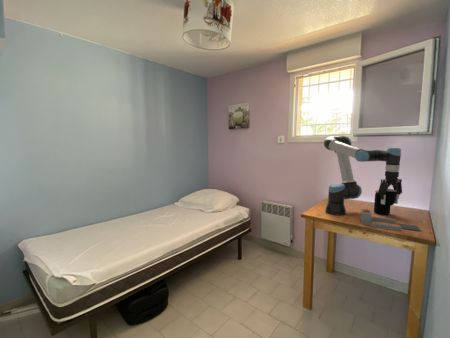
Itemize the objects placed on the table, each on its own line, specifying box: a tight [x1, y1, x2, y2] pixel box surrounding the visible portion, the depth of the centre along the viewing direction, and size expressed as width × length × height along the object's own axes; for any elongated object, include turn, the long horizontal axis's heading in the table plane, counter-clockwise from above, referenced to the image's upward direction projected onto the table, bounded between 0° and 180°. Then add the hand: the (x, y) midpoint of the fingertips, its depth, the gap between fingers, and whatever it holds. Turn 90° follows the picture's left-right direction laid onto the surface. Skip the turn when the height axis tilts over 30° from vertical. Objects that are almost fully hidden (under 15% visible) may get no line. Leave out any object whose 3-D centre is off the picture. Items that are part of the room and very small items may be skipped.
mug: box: [385, 188, 397, 206], centre depth 153 cm, size 12×9×10 cm
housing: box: [359, 208, 403, 232], centre depth 157 cm, size 22×16×8 cm
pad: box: [398, 222, 422, 232], centre depth 151 cm, size 10×10×1 cm
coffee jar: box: [373, 189, 392, 216], centre depth 180 cm, size 11×11×18 cm
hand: (389, 203), depth 154 cm, fingers closed on mug, 9 cm apart
